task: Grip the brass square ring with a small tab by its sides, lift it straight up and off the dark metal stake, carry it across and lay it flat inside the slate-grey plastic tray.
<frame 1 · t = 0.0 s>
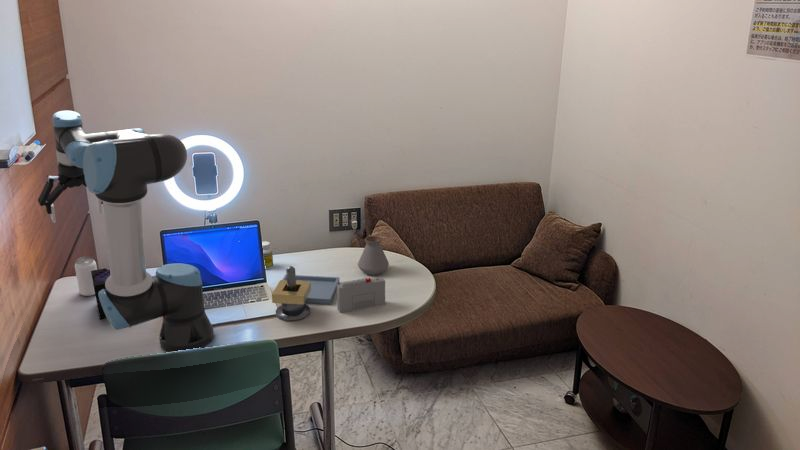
hand: (76, 216, 193), 28 cm above the table, tool tilted 20°, fingers open, 13 cm apart
ring: (292, 296, 190), point 6 cm above the table, touching stake
tray: (307, 291, 206), on the table
coffee pot: (370, 265, 227), on the table
supplement bottle: (266, 267, 225), on the table
energy cube: (119, 308, 194), on the table
stake: (293, 312, 192), on the table
can: (90, 292, 204), on the table
cassette player: (361, 307, 197), on the table
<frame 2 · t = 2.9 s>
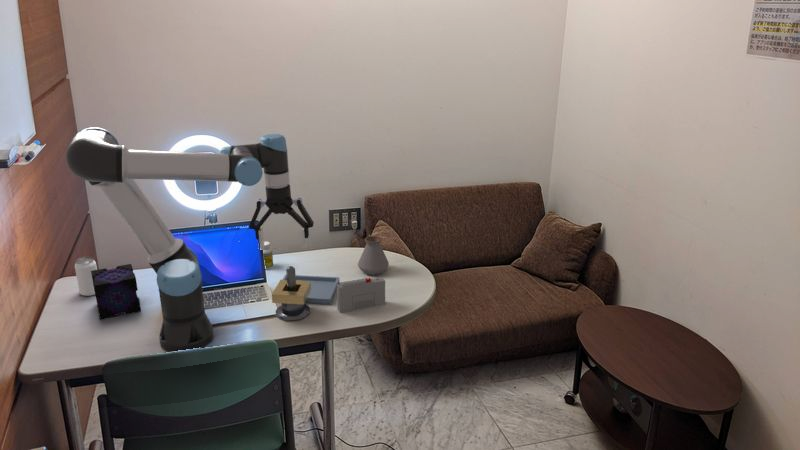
hand: (283, 247, 192), 20 cm above the table, tool pointing down, fingers open, 13 cm apart
nothing on the table moved.
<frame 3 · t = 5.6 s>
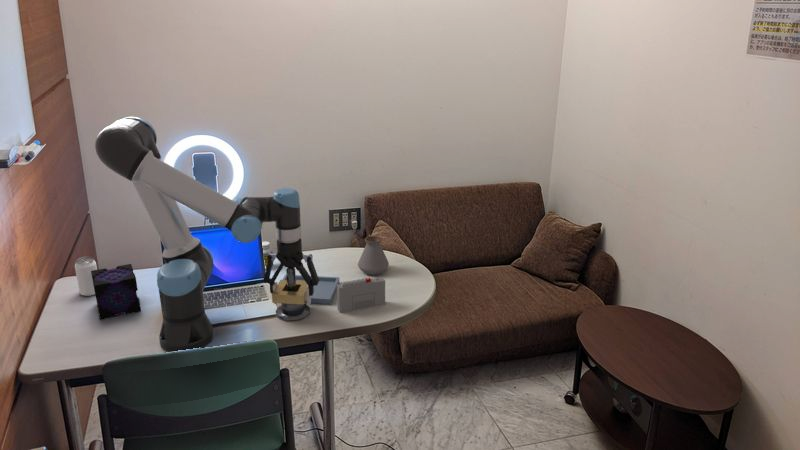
hand: (292, 302, 191), 4 cm above the table, tool pointing down, fingers closed on ring, 10 cm apart
ring: (292, 296, 190), point 6 cm above the table, touching gripper, stake
everything else where it was.
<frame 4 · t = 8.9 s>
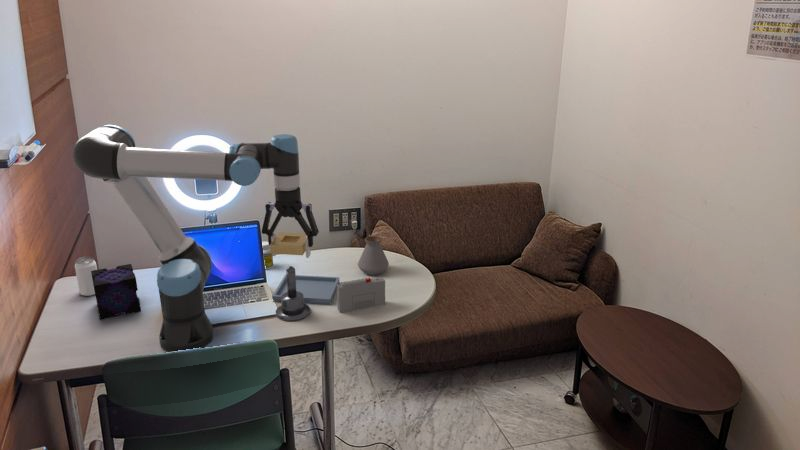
hand: (291, 255, 186), 20 cm above the table, tool pointing down, fingers closed on ring, 10 cm apart
ring: (291, 248, 185), point 22 cm above the table, touching gripper
everything else where it was.
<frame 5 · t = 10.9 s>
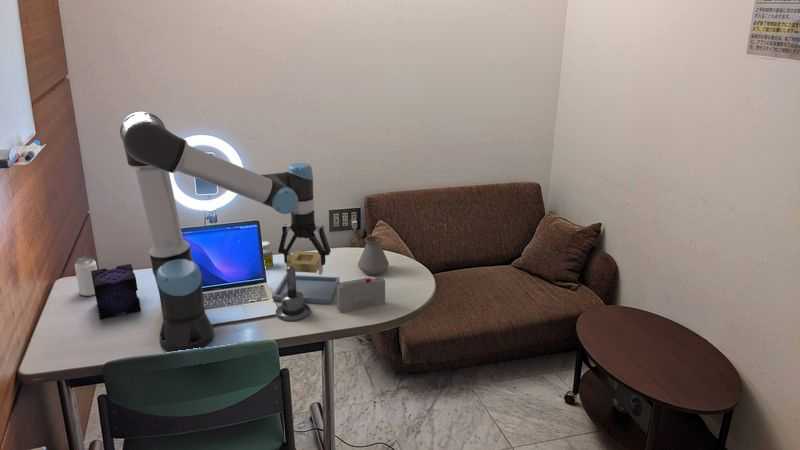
hand: (305, 272, 202), 8 cm above the table, tool pointing down, fingers closed on ring, 10 cm apart
ring: (305, 265, 202), point 10 cm above the table, touching gripper
everything else where it was.
when the fingers open (3 cm above the table, at t = 12.6 s): ring drops 4 cm, resting on tray.
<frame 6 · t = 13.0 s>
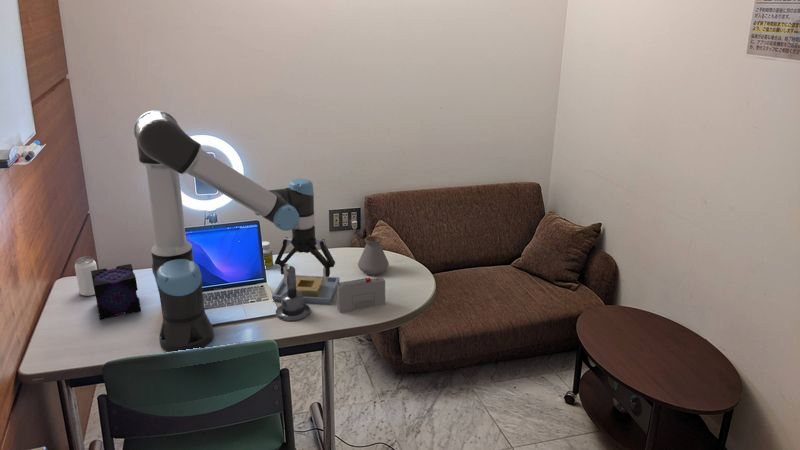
hand: (306, 283, 204), 4 cm above the table, tool pointing down, fingers open, 13 cm apart
ring: (306, 291, 205), point 1 cm above the table, touching tray
everything else where it was.
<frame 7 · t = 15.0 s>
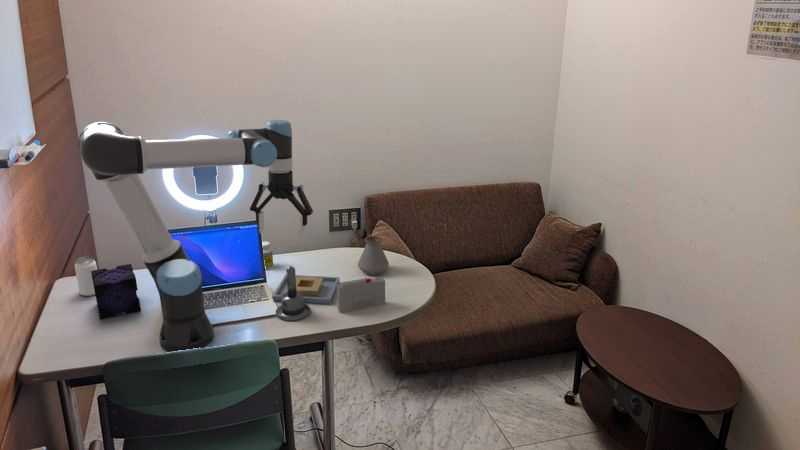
hand: (282, 232, 195), 23 cm above the table, tool pointing down, fingers open, 13 cm apart
nothing on the table moved.
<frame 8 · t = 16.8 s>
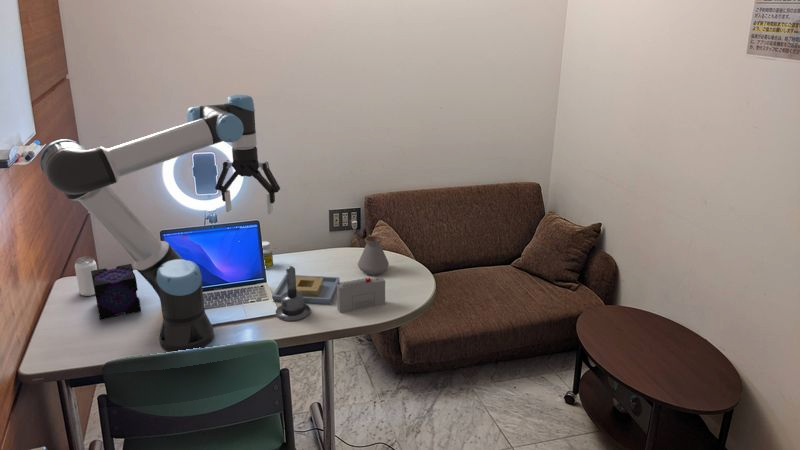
hand: (249, 211, 191), 31 cm above the table, tool pointing down, fingers open, 13 cm apart
nothing on the table moved.
at the end: ring inside the target area on the tray (1.0 cm from its centre), point 0.6 cm above the tray's base; ring tilted 0°; the gripper is holding nothing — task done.
